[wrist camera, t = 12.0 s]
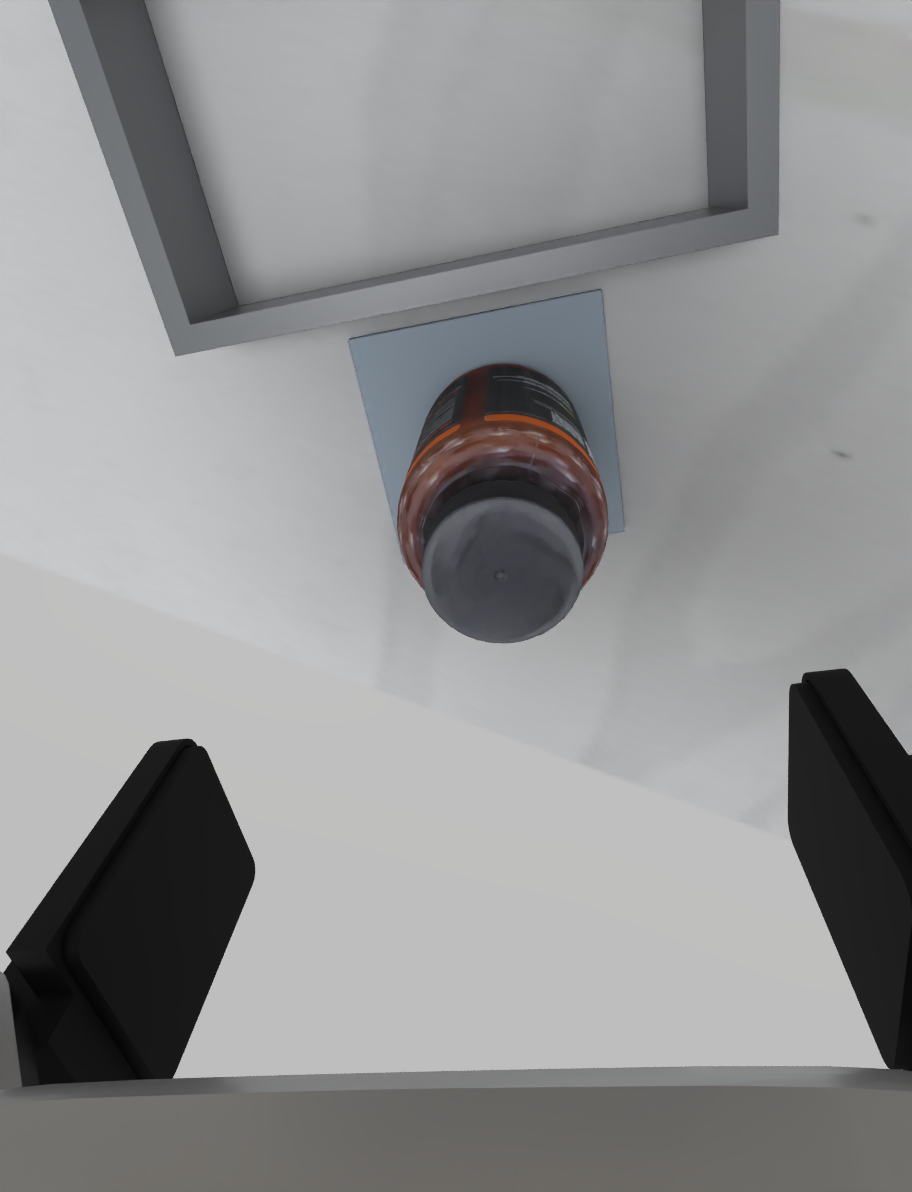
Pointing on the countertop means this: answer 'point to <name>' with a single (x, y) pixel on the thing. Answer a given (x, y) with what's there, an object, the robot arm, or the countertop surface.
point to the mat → (503, 336)
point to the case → (213, 318)
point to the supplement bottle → (502, 505)
